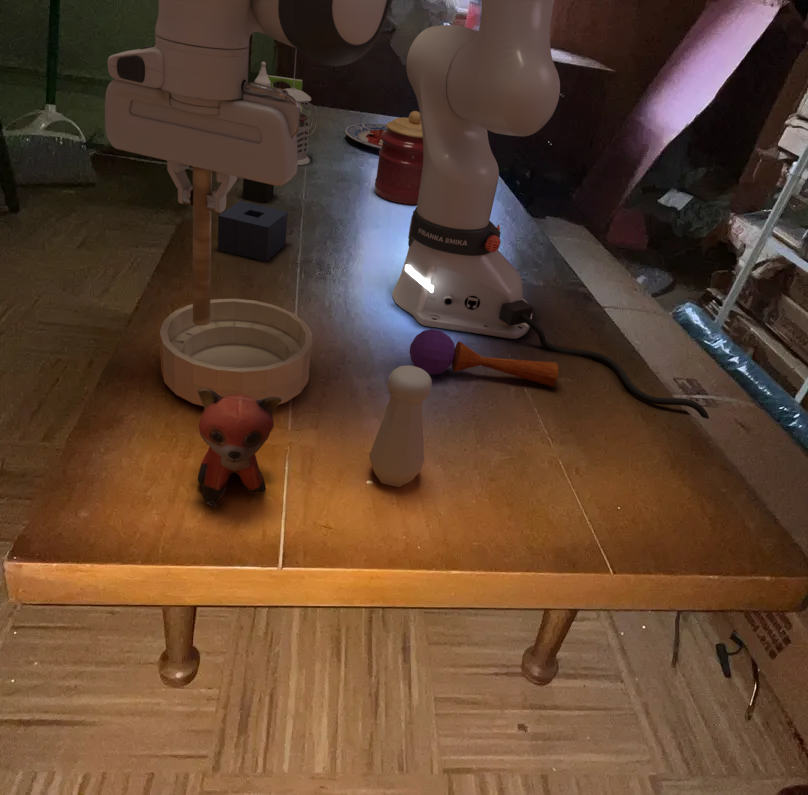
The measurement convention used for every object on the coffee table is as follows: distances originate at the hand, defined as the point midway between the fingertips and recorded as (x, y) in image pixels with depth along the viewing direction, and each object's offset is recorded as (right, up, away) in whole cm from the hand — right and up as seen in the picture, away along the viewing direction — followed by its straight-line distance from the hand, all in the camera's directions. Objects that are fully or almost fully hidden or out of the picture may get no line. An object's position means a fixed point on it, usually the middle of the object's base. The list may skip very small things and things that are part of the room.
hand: (201, 206), depth 80 cm
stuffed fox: (+5, -29, -5) cm, 30 cm away
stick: (-2, -12, +8) cm, 14 cm away
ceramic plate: (+19, +46, +114) cm, 124 cm away
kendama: (+32, -18, +19) cm, 42 cm away
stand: (-4, +5, +44) cm, 44 cm away
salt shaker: (+21, -29, -1) cm, 36 cm away
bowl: (+1, -18, +11) cm, 21 cm away
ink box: (-10, +46, +107) cm, 117 cm away
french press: (-4, +35, +90) cm, 97 cm away
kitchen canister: (+22, +23, +80) cm, 86 cm away
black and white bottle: (-7, +19, +65) cm, 68 cm away
